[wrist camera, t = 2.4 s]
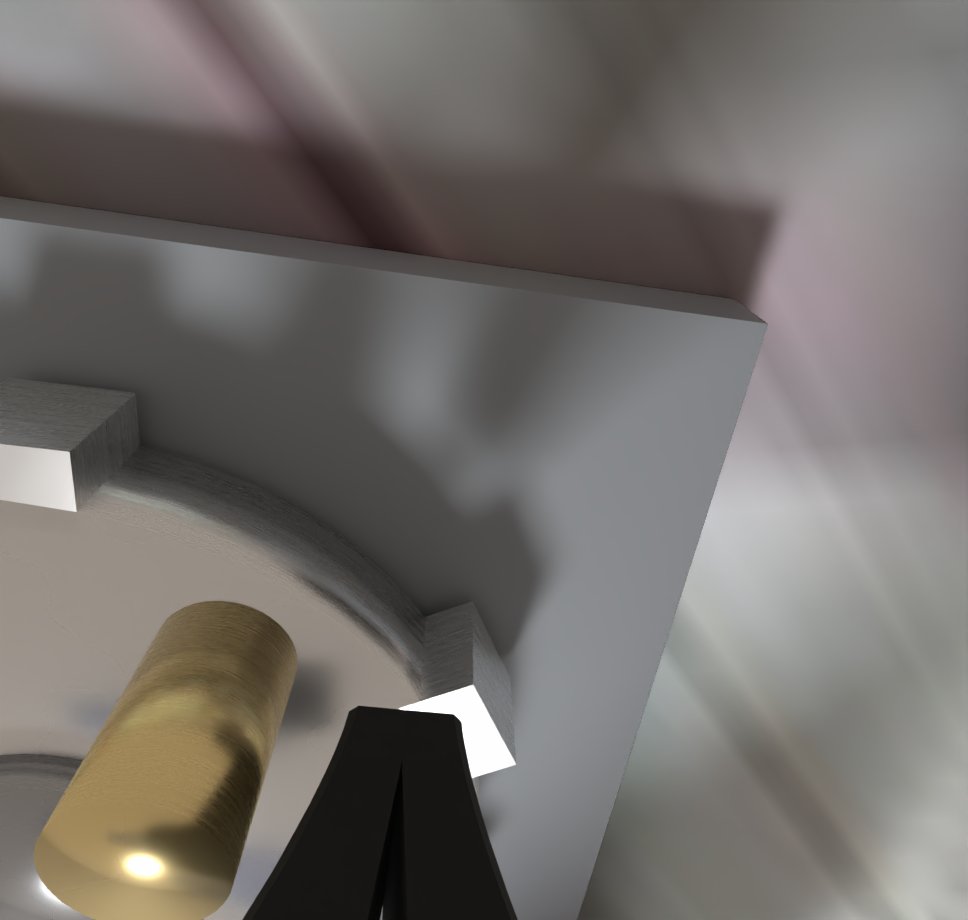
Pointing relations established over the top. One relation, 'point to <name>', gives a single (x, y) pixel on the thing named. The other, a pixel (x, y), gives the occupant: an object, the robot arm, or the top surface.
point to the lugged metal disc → (186, 667)
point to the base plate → (429, 452)
